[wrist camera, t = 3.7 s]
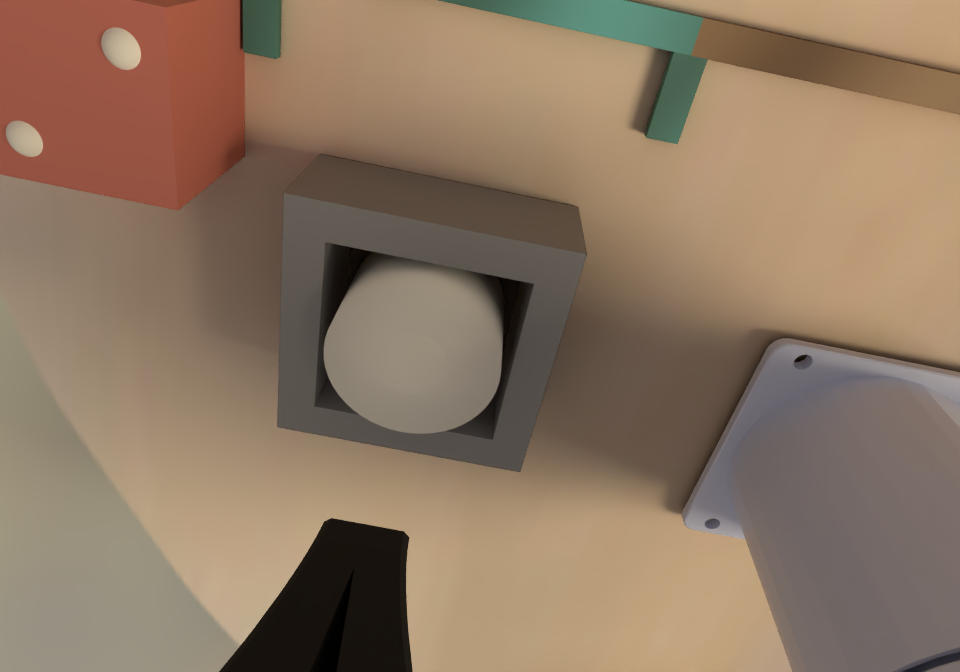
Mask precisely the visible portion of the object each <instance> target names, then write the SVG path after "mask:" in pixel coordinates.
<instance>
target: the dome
mask: <svg viewBox="0 0 960 672" xmlns="http://www.w3.org/2000/svg"><path fill="white" fill-rule="evenodd" d="M504 317H505V300H504V293H503V290H502V286H501V284H500V282H499V279H498V277H497V276H493V275H487V274H482V273H477V272H472V271H467V270H462V269H457V268H452V267H447V266H442V265H437V264H432V263H427V262H422V261H417V260H412V259H407V258H402V257H397V256H392V255H387V254H382V253H377V252H371V253H370V254H369V255H368V256H367V257H366V258H365V260H364V261H363V262H362V264H361V265H360V267H359V269H358V271H357V273H356V275H355V277H354V279H353V281H352V283H351V285H350V287H349V289H348V291H347V293H346V295H345V297H344V299H343V301H342V303H341V305H340V307H339V309H338V311H337V313H336V315H335V317H334V319H333V321H332V323H331V325H330V327H329V329H328V331H327V334H326V337H325V342H324V363H325V368H326V371H327V375H328V377H329V379H330V382H331V384H332V386H333V387H334V389H335V390H336V392H337V393H338V395H339V396H340V397H341V398H342V399H343V401H344V402H345V403H346V404H347V405H348V406H349V407H350V408H352V409H353V410H354V411H355V412H357V413H358V414H359V415H361V416H362V417H364V418H366V419H367V420H369V421H371V422H373V423H375V424H377V425H380V426H382V427H385V428H388V429H391V430H395V431H399V432H405V433H414V434H427V433H437V432H443V431H447V430H450V429H453V428H456V427H458V426H461V425H463V424H465V423H467V422H468V421H470V420H472V419H473V418H474V417H476V416H477V415H478V414H480V413H481V412H482V411H483V410H484V409H485V408H486V407H487V405H488V404H489V403H490V401H491V400H492V398H493V396H494V394H495V393H496V391H497V388H498V385H499V382H500V376H501V365H502V349H503V333H504Z"/></svg>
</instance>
